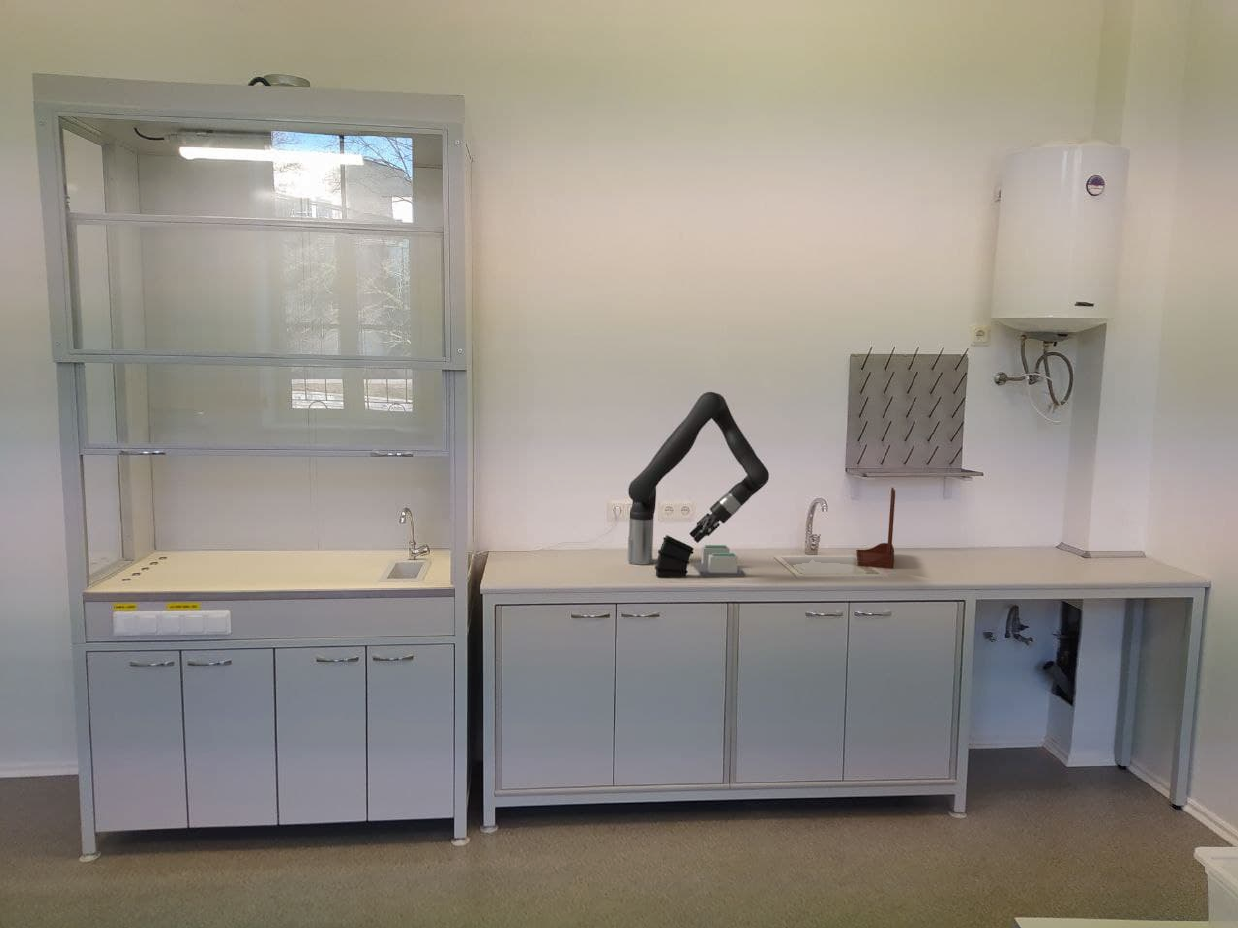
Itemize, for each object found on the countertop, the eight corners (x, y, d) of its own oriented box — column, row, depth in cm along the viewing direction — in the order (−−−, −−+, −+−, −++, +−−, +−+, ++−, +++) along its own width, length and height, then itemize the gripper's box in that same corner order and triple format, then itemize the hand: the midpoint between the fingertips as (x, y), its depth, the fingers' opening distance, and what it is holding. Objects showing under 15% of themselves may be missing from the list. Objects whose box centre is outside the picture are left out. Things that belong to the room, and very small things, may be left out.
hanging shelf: (856, 553, 326) (860, 483, 322) (888, 556, 322) (893, 485, 319) (858, 566, 303) (862, 490, 299) (893, 569, 299) (898, 493, 296)
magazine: (646, 571, 278) (665, 534, 278) (677, 585, 281) (696, 548, 281) (649, 573, 275) (668, 536, 275) (680, 588, 278) (699, 551, 278)
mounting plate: (701, 577, 279) (702, 554, 278) (693, 565, 295) (694, 544, 295) (745, 577, 280) (746, 555, 279) (734, 565, 297) (735, 544, 296)
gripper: (714, 497, 284) (682, 527, 284) (723, 503, 270) (689, 535, 270) (728, 511, 285) (696, 541, 285) (737, 518, 271) (703, 550, 271)
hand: (693, 538), depth 278 cm, fingers open, 8 cm apart
